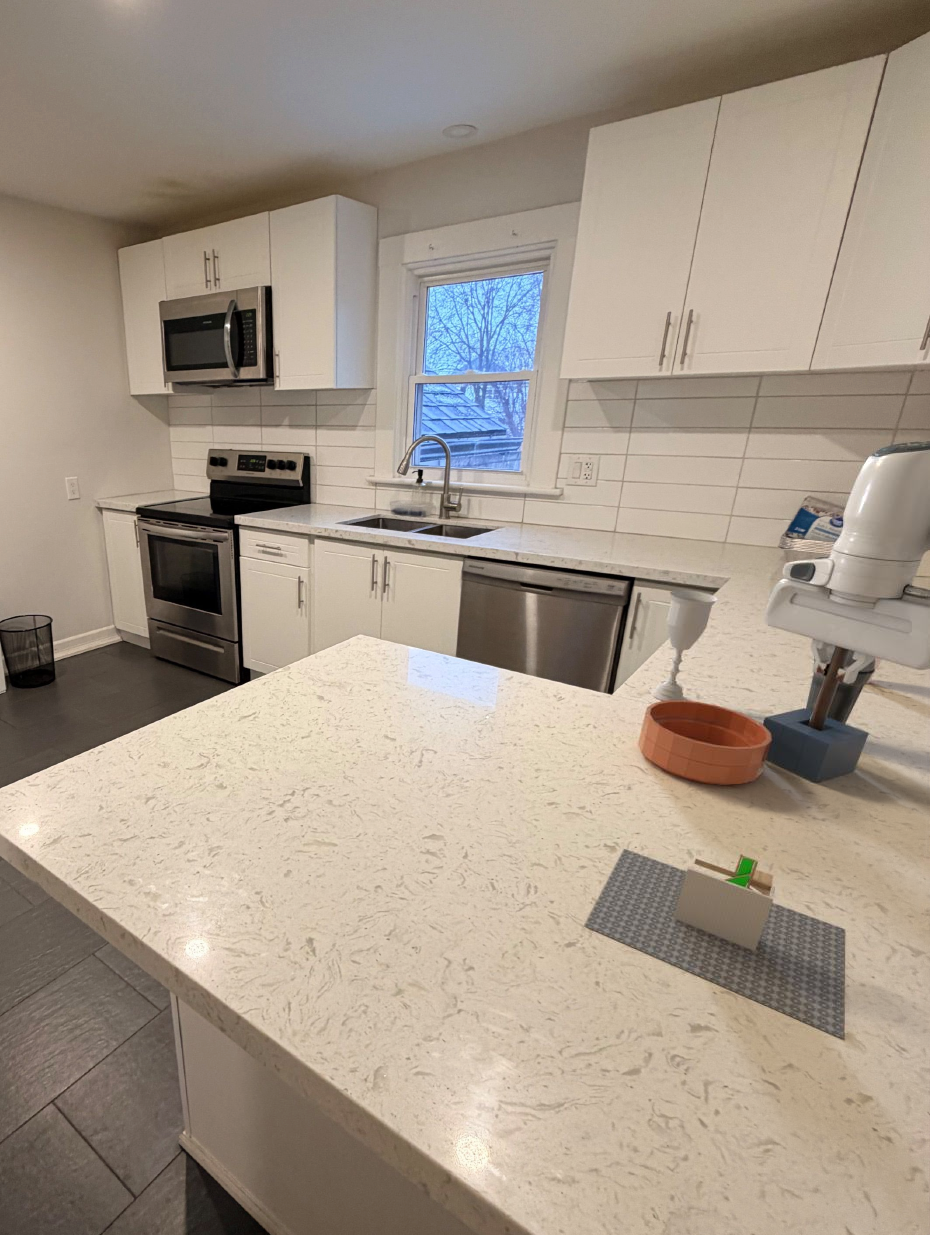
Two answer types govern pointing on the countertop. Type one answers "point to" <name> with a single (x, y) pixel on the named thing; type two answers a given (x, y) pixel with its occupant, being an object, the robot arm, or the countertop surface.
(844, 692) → the beverage cup
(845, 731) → the holder
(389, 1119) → the countertop surface
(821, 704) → the stick
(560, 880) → the countertop surface
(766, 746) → the bowl
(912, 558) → the robot arm
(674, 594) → the chalice
